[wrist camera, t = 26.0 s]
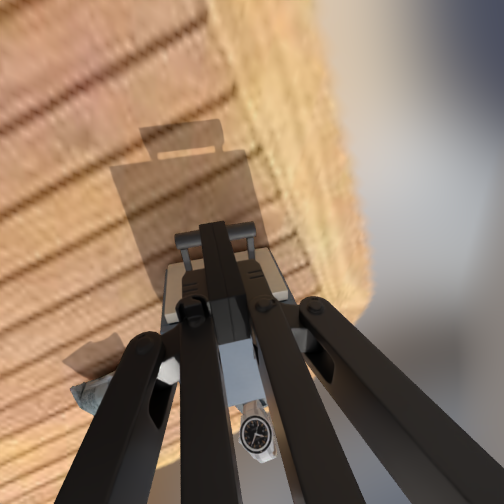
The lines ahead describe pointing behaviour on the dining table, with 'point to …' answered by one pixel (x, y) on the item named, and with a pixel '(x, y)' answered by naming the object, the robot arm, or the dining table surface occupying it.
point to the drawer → (179, 269)
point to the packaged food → (91, 393)
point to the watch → (257, 430)
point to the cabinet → (236, 361)
